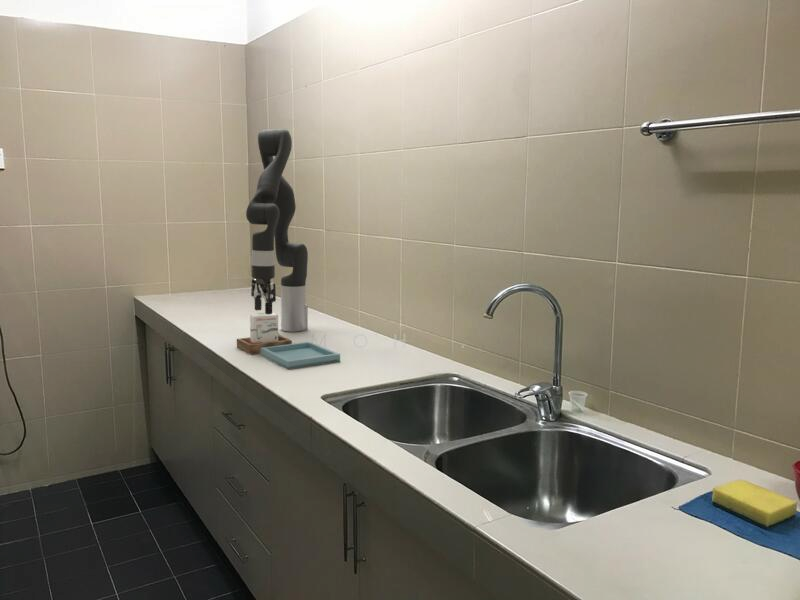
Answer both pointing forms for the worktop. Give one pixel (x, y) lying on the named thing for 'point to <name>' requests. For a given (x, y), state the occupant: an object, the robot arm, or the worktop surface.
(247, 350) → the holder
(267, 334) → the ink box
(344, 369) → the worktop surface
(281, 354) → the tray
